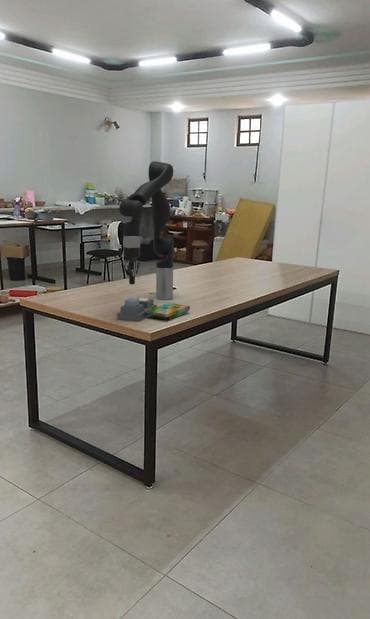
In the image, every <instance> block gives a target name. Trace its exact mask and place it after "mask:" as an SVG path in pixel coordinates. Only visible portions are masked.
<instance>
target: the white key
mask: <svg viewBox="0 0 370 619" xmlns="http://www.w3.org/2000/svg"><path fill="white" fill-rule="evenodd" d="M150 299H151V298H150ZM150 299H147V297H139V301H145V302H146V301H148V300H150Z"/></svg>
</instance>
